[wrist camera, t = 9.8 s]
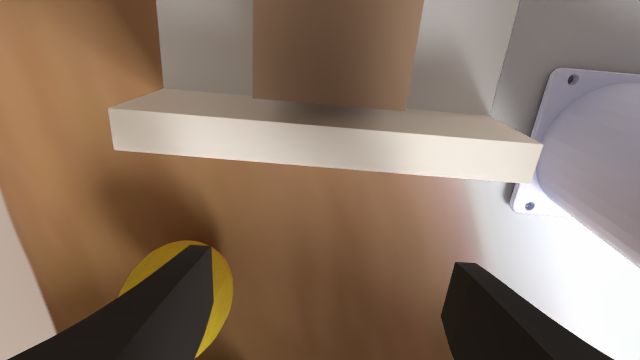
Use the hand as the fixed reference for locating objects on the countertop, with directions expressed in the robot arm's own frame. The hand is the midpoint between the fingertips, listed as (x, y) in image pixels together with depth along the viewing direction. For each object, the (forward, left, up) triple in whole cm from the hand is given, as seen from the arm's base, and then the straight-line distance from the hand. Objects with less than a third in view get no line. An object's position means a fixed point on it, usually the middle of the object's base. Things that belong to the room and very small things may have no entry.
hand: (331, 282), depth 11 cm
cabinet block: (0, -8, -8) cm, 11 cm away
